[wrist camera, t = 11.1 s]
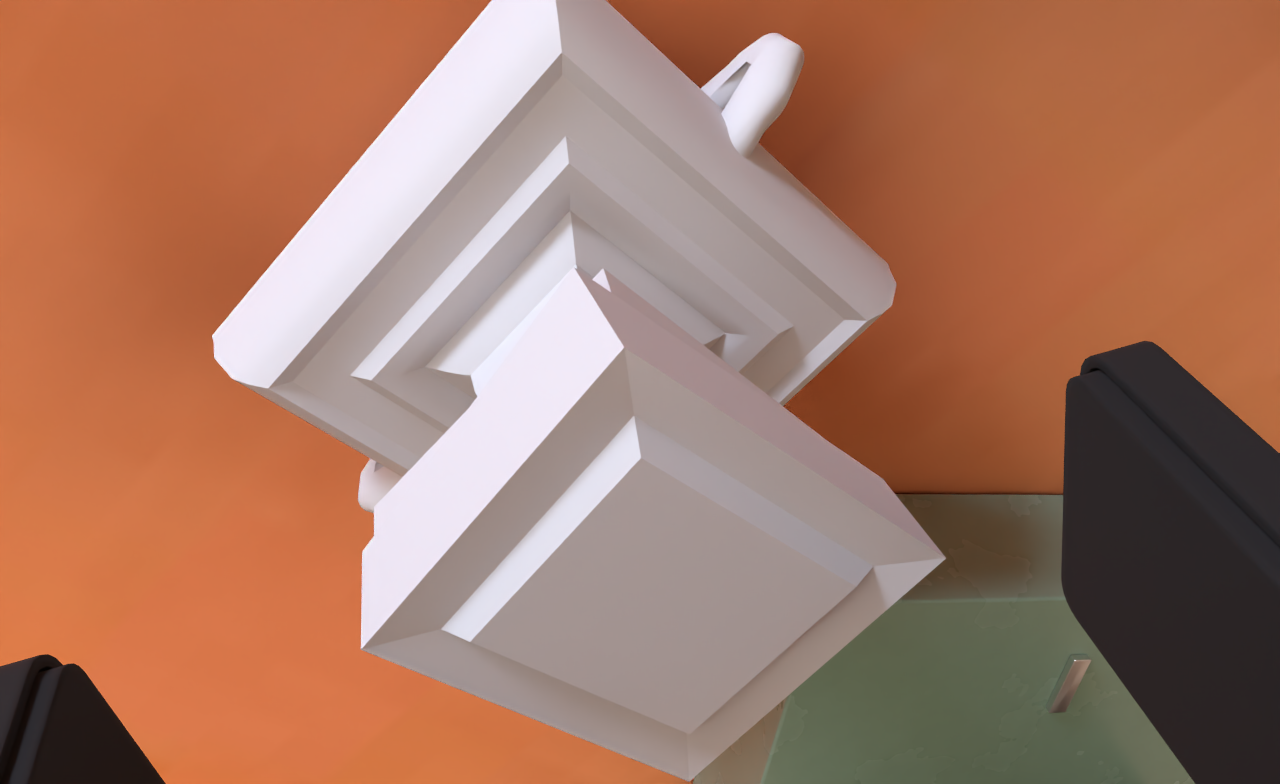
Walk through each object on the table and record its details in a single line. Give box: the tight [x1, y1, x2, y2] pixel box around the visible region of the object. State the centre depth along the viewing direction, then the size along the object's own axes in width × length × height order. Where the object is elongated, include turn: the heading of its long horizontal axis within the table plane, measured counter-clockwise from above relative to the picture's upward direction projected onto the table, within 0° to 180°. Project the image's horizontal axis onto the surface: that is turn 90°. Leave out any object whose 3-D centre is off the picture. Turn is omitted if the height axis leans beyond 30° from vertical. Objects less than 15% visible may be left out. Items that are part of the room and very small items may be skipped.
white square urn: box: [212, 0, 946, 782], centre depth 14 cm, size 9×7×8 cm
